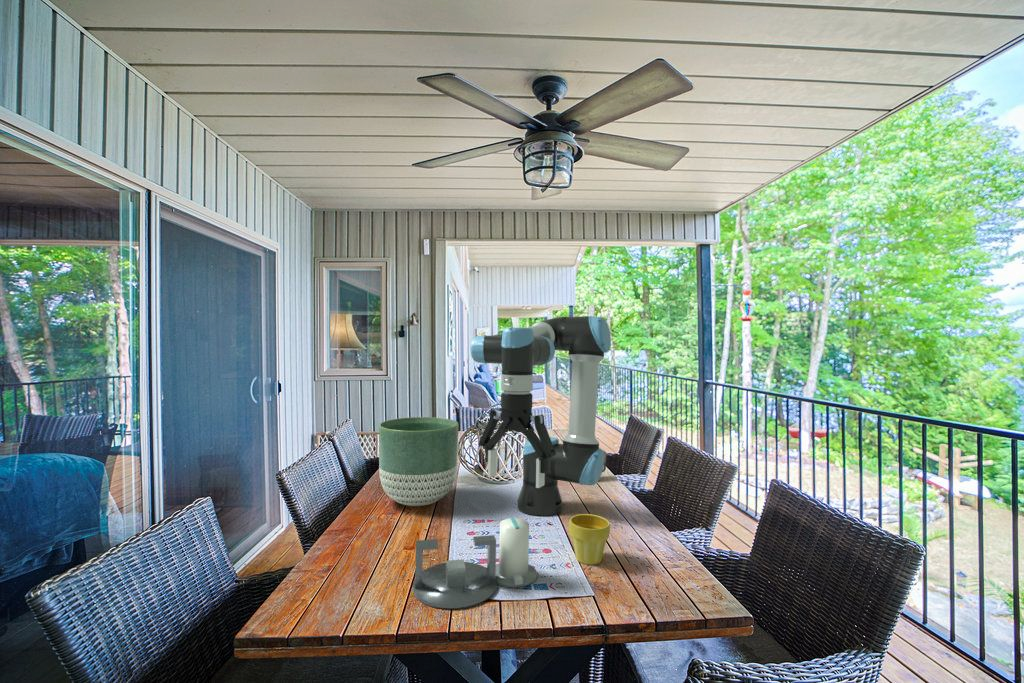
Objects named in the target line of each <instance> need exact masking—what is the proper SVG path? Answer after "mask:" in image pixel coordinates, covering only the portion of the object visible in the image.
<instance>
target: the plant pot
mask: <svg viewBox="0 0 1024 683" xmlns="http://www.w3.org/2000/svg"><path fill="white" fill-rule="evenodd" d="M568 522H569V524H568V526H569V527H568V528H569V529H568V530H569V534H570V535H571V538H572V544H573V550H574V556H575V559H576V561H577V562H579V563H581V564H585V565H591V566H592V565H597V564H600V562H602V559H603V555H604V550H605V547H606V543H607V540H608V539H609V538H610V533H611V523H610V521H609V520H608V519H607V518H605V517H603V516H599V515H597V514H591V513H580V514H575V515H572V516H571V517H570V518H569V521H568Z"/></svg>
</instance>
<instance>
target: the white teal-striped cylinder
mask: <svg viewBox="0 0 1024 683" xmlns="http://www.w3.org/2000/svg"><path fill="white" fill-rule="evenodd" d="M498 546H499V547H498V548H499V550H498V551H499V553H498V555H499V556H498V557H499V558H498V564H499V574H500V575H501V576H502V577H504V578H506V579H511V580H513V581H514V584H515V585H521V584H523V578H524V577H526V576H527V575H528V564H529V556H530V553H529V551H530V549H529V548H530V522H528V520H526V519H523V518H519V517H518V518H516V517H509V518H505V519H503V520H501V521H500V522H499V545H498Z"/></svg>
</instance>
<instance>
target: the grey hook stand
mask: <svg viewBox="0 0 1024 683" xmlns="http://www.w3.org/2000/svg"><path fill="white" fill-rule="evenodd" d="M472 539H473V545H474V547H480V546H481V547H482V546H484V547H485V546H487V550H486V551H487V553H486V557H487V558H486V560H487V562H486V564H487V565H486V566H487V567H486V566H484V565H482V564H479V563H475V562H470V561H465V560H464V559H453V560H452V559H451V560H450V559H449V560H446V561H445V562H443V563H438V564H435V565H432V566H429V567H428V568H426V569H424V570H423V558H424V557H423V555H424V554H423V553H424V552H423V551H430V550H439V540H438V538H436V539H435V538H434V539H421V540H415V566H414V568H415V572H414V574H415V575H414V576H415V577H414V580H413V584H412V593H413V595H414V597H415V598H416V599H417V600H418V601H419V602H421V603H422V604H424V605H426V606H428V607H430V608H434V609H440V610H463V609H468V608H472V607H475V606H478V605H481V604H483V603H485V602H487V601H488V600H489V599H490V598H492V596H494V594H495V592H496V591H497V588H498V584H497V580H496V579H497V578H495V575H496V565H497V538H496V537H495V535H493V534H492V535H478V536H473V537H472Z"/></svg>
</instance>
